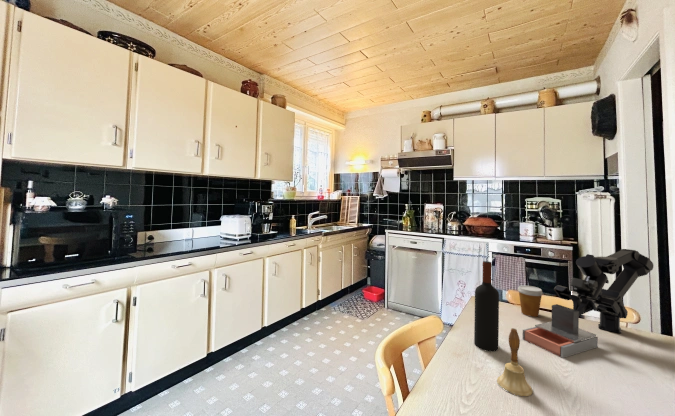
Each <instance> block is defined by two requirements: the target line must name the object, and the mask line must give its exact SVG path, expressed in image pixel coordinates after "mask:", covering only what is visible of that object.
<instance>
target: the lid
mask: <svg viewBox="0 0 675 416" xmlns="http://www.w3.org/2000/svg"><path fill="white" fill-rule="evenodd" d="M579 318H580V316H579V311H577V310H574V309H573V308H570V307H567V306H563V305H561V304H557V303H555V304H552V305H551V321H546V322H543V323H539V324H535V326H534V327H537V328H540V329H542V330H545V331H547V332H550V333H552V334H554V335H557V336H559V337H562V338H564V339H567V340H569V341H572V342H578V341H582V340H585V339H589V338H592V337H597V334H596V333H593V332H590V331H588V330H585V329H582V328H579V322H580V321H579V320H580V319H579Z"/></svg>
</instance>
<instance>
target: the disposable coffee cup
mask: <svg viewBox="0 0 675 416" xmlns="http://www.w3.org/2000/svg"><path fill="white" fill-rule="evenodd" d="M517 292H518V294H519V301H520V302H519V303H520V310H521V314H522V313H523V314H522V315H525V316H528V317H531V316H532V317H533V318H536V317H539V313H540V308H541V302H542V296H543V294H544V292H543V290H542V289H541V288H539V287H538V286H537V287H536V286H532V285H524V284H523V285H519V286H518V288H517Z"/></svg>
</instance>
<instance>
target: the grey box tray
mask: <svg viewBox="0 0 675 416" xmlns="http://www.w3.org/2000/svg"><path fill="white" fill-rule="evenodd" d="M522 340H523V341H524V340H525V341H526V342H528V343H530V344H532V345H535V346H536V347H538V348H540V349H543V350H545V351H547V352H549V353H551V354H554V355H556V356H558V357H561V359H564V358H567V357H570V356H574V355H578V354H579V353H584V352H587V351H590V350H592V349H596V348H598V346H599V345H598V336H595V337H591V338H588V339H585V340H581V341H578V342H572V341H569V340H567V339H564V338H562V337H559V336H557V335H554V334H552V333H550V332H547V331H545V330H542V329H540V328H537V327H535V326H533V327H532V326H531V327H527V328H524V329H522Z"/></svg>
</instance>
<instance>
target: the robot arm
mask: <svg viewBox="0 0 675 416" xmlns="http://www.w3.org/2000/svg"><path fill="white" fill-rule="evenodd" d="M575 264H576V265H577V267H578V269H580V273H582V274H583V276H585V277H584V279H582V278H576V277H572V278H571V281H570V284H569V285H570V286H571V287H573V290H574V291H571V290H570V289H569V287H566V286H564V285H563V286H562V285H556V286H555V287H554V288H553V291H554V293H556V295H557V297H558V298H560V299H562V300H566V301H572V303H573V305H572V306H573V307H572V309H574V310H577V311H579V317H580V316H583V315H584V314H586V313H589V312H591V311H594V312H598V313H599V323H600V324H598V329H600V330H604V331H607V332H608V331H609V332H613V333H616V334H622V332H623V331H622V327H621V323H620V322H621V319H627V317H628V310H627V308H626V307H625V304H624V302H623V298H624V296H625V295H626V294H627V293H628V291H629V290H630V288H631V287H632V286H633V285H634V283H635V281H636V280H637V279H638V278H640V277H645V276H648V274H649V273H650V272H651V271H653V269H654V263H653V261H652V260H651V259H650V258H649V257H648V256H646V255H643V254H641V253H640V252H639V251H638V250H636V249H628V248H627V249H626V248H621V249H619V250H618V251H616V252H614V253H612V254H610V255H607V256H595V255H594V254H590V253H589V254H586V255H584V256H581V257H579V258H577V259H576V261H575ZM621 266H622V268H623V269H622V271H621V272H620V273H619V274H618V276H617V277H616V278H615V279H614V280H613V282H612V283H611V285H609V287H608V288H607V289H606V288H604V286H605V284H609V283H610V282H609V278H608V276H607V275H606V274H608V275H615V274H616V273H617V272H618V271H619V270H620V267H621Z"/></svg>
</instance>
